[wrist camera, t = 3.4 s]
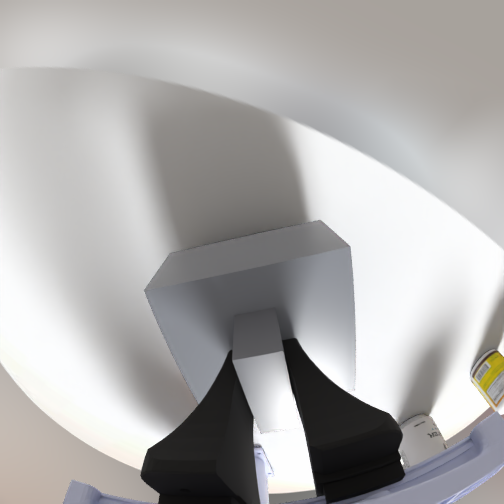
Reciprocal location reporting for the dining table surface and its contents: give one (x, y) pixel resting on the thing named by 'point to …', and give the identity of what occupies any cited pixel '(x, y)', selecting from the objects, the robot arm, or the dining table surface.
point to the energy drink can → (420, 440)
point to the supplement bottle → (490, 379)
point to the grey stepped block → (260, 313)
